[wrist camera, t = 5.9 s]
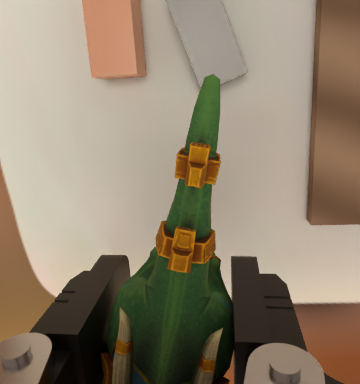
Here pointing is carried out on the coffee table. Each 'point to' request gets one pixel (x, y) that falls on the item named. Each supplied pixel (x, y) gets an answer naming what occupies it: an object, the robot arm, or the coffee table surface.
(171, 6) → the slate-grey brick
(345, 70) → the walnut board
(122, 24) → the terracotta brick
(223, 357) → the figurine
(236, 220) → the coffee table surface
